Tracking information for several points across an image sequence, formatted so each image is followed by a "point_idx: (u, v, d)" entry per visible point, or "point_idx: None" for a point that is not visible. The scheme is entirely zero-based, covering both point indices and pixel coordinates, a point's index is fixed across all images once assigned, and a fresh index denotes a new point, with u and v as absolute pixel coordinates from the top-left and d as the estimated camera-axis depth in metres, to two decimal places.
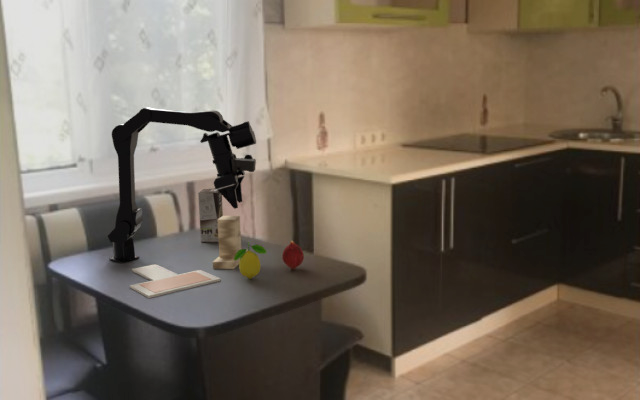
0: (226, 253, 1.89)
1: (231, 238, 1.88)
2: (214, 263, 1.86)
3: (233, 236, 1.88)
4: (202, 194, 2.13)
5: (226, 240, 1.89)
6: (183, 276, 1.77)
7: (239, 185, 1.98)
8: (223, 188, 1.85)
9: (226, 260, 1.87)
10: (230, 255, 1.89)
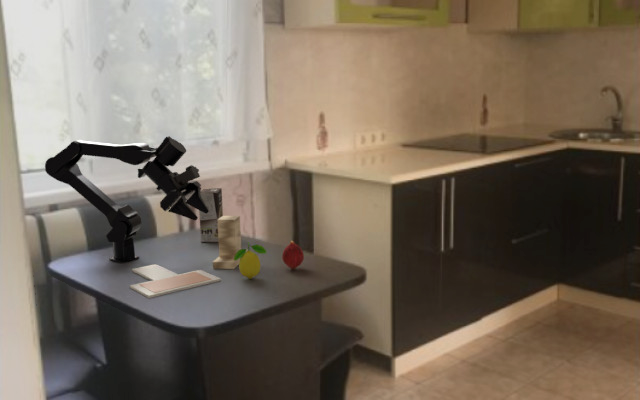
0: (226, 253, 1.89)
1: (231, 238, 1.88)
2: (214, 263, 1.86)
3: (233, 236, 1.88)
4: (202, 194, 2.13)
5: (226, 240, 1.89)
6: (183, 276, 1.77)
7: (198, 198, 1.96)
8: (172, 207, 1.84)
9: (226, 260, 1.87)
10: (230, 255, 1.89)
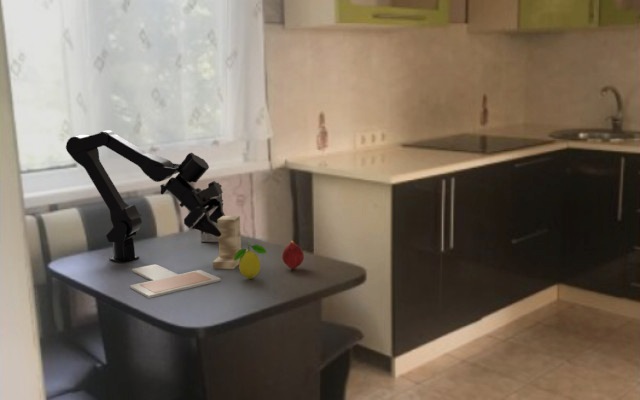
0: (226, 253, 1.89)
1: (231, 238, 1.88)
2: (214, 263, 1.86)
3: (233, 236, 1.88)
4: None
5: (226, 240, 1.89)
6: (183, 276, 1.77)
7: (221, 213, 1.95)
8: (196, 224, 1.83)
9: (226, 260, 1.87)
10: (230, 255, 1.89)
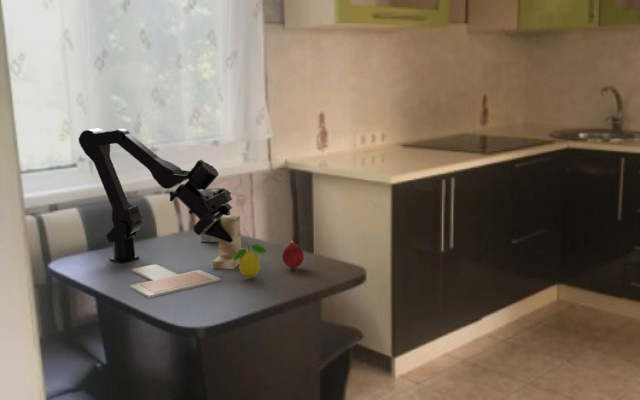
0: (226, 253, 1.89)
1: None
2: (214, 263, 1.86)
3: (233, 236, 1.88)
4: None
5: None
6: (183, 276, 1.77)
7: None
8: (207, 229, 1.85)
9: (226, 259, 1.87)
10: (230, 255, 1.89)
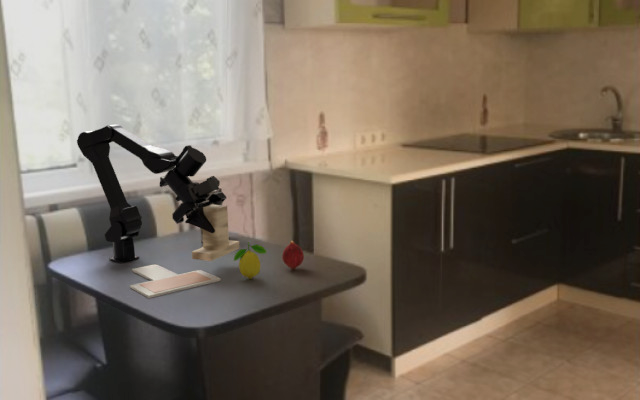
0: (209, 244, 1.81)
1: (214, 228, 1.79)
2: (193, 253, 1.78)
3: (216, 226, 1.79)
4: None
5: None
6: (183, 276, 1.77)
7: None
8: (188, 218, 1.78)
9: (206, 251, 1.78)
10: (213, 246, 1.80)
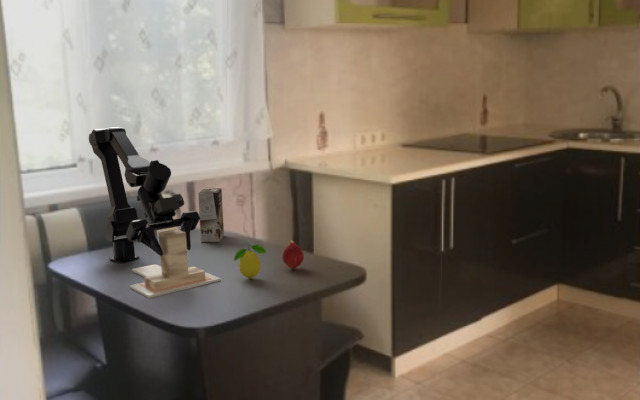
0: (165, 271, 1.71)
1: (166, 255, 1.69)
2: (145, 279, 1.70)
3: (167, 254, 1.68)
4: (202, 194, 2.13)
5: (164, 257, 1.70)
6: None
7: (184, 231, 1.74)
8: (138, 237, 1.69)
9: (156, 278, 1.69)
10: (167, 274, 1.70)
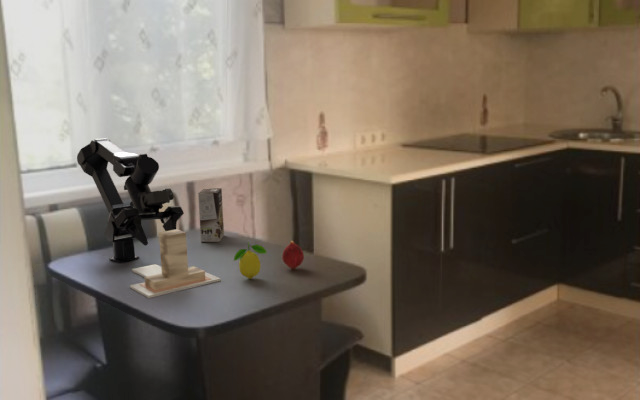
0: (165, 271, 1.71)
1: (166, 255, 1.69)
2: (145, 279, 1.70)
3: (167, 254, 1.68)
4: (202, 194, 2.13)
5: (164, 257, 1.70)
6: None
7: (171, 224, 1.83)
8: (124, 225, 1.75)
9: (156, 278, 1.69)
10: (167, 274, 1.70)
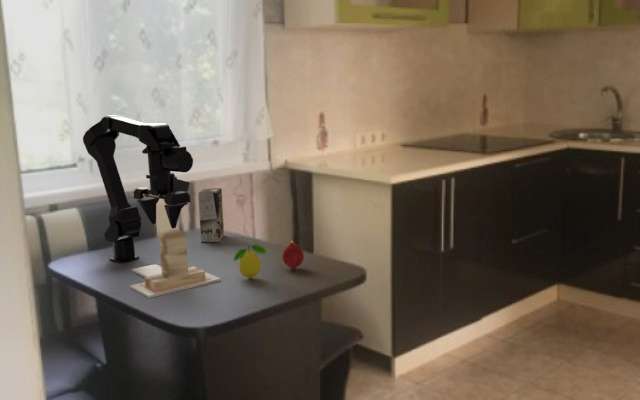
0: (165, 271, 1.71)
1: (166, 255, 1.69)
2: (145, 279, 1.70)
3: (167, 254, 1.68)
4: (202, 194, 2.13)
5: (164, 257, 1.70)
6: None
7: (155, 206, 1.89)
8: (176, 205, 1.78)
9: (156, 278, 1.69)
10: (167, 274, 1.70)
